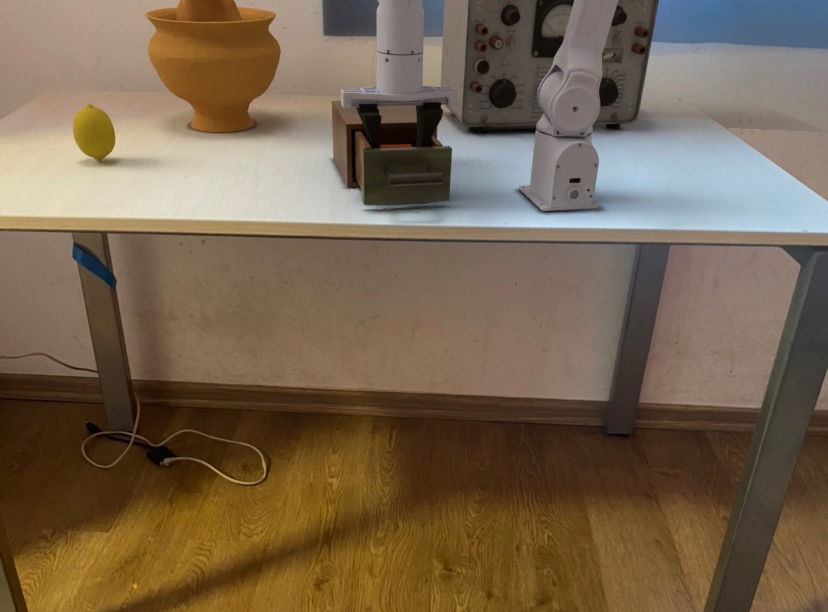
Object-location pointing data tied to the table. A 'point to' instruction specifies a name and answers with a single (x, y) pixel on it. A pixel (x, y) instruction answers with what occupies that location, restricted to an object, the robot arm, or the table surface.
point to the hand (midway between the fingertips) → (398, 163)
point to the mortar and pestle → (214, 59)
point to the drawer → (401, 168)
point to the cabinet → (351, 120)
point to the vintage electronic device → (536, 59)
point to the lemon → (94, 132)
